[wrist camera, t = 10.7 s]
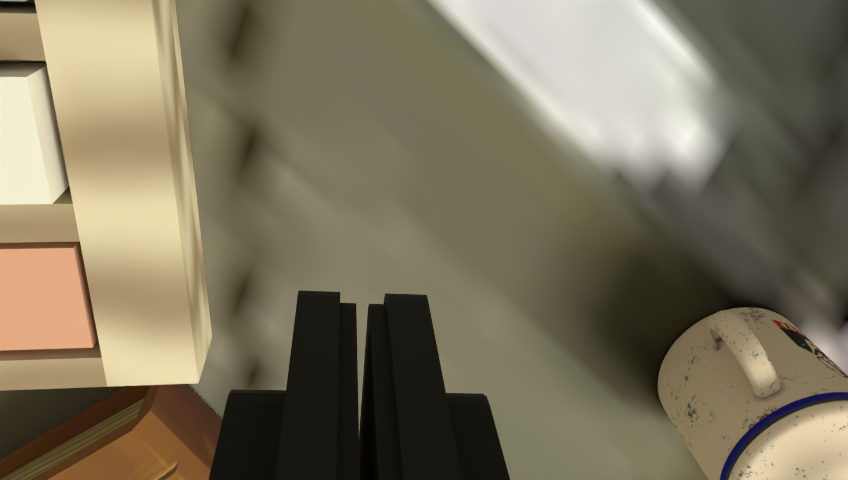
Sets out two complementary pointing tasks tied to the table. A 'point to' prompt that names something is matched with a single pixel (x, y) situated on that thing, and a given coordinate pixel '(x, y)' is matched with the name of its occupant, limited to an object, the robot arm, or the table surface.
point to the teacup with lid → (756, 399)
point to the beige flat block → (115, 191)
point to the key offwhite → (29, 137)
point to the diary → (125, 440)
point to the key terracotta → (44, 297)
